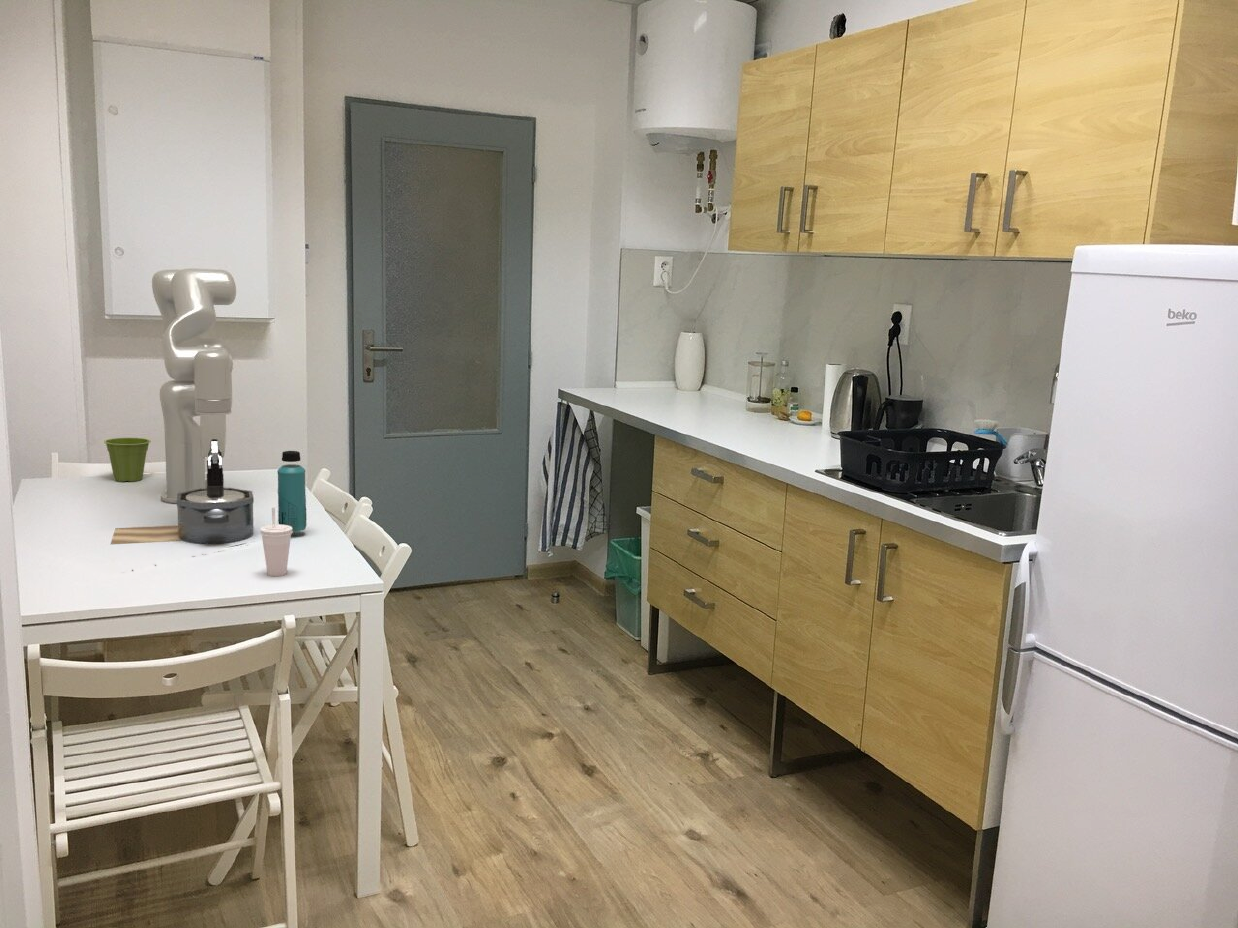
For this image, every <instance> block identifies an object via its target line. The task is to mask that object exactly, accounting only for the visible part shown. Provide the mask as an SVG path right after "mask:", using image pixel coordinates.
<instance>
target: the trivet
mask: <svg viewBox="0 0 1238 928" xmlns="http://www.w3.org/2000/svg"><path fill="white" fill-rule="evenodd" d="M181 541H182V540H180V539H179V537H178V525H159V526H139V527H138V526H136V527H134V526H133V527H115V529H114V532H113V535H112V538H111V541H110V545H123V544H145V543H165V542H168V543H169V542H181Z"/></svg>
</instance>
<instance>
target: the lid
mask: <svg viewBox="0 0 1238 928" xmlns="http://www.w3.org/2000/svg"><path fill="white" fill-rule="evenodd" d="M205 480H206V481H207V490H206V491H198V492H193V493H190V494H188V495H186V501H191V502H197V503H221V502H233V501H237V500H241V499H244V494H243V493H241V492H238V491H232V490H224V488H225V486H224V485H225V484H224V483H225V482H224V476H223V485H222V486H208V480H207V473H205Z"/></svg>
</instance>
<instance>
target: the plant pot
mask: <svg viewBox="0 0 1238 928" xmlns="http://www.w3.org/2000/svg"><path fill="white" fill-rule="evenodd" d="M103 442H104V444H105V445H106V448H107V452H108V455H109V460H110V466H111V471H112V474H113V479H114V481H116V482H120V483H121V482H122V483H123V482H127V481H128V482H133V483H134V482H139V481H141V480H143V478H144V472H145V464H146V457H147V452H148V449H149V445H150V443H151V439H148V438H145V437H144V438H143V437H113V438H108V439H105V440H104V441H103Z"/></svg>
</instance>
